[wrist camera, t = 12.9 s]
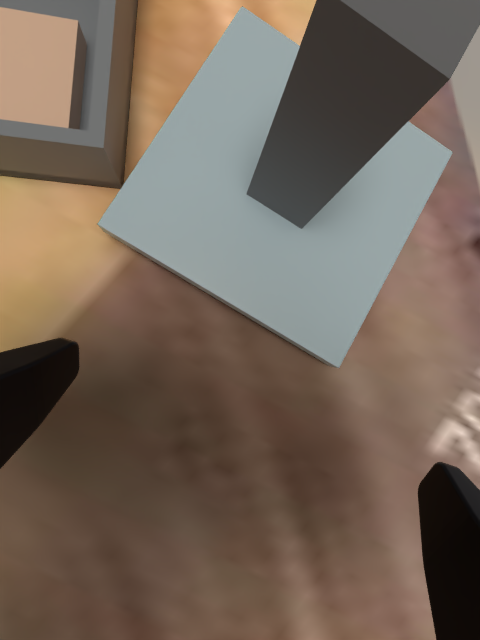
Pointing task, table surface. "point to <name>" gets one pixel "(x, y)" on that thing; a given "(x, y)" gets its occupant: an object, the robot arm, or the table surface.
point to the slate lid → (299, 164)
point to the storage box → (66, 89)
